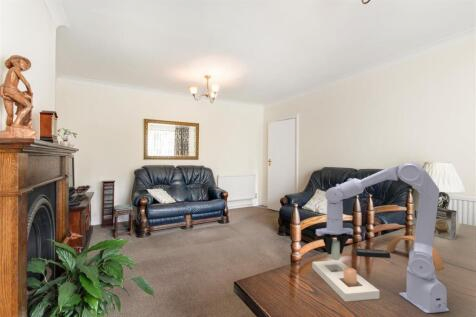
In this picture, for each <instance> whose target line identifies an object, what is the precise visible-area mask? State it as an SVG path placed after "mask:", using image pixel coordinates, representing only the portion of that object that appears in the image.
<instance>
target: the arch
mask: <svg viewBox="0 0 476 317" xmlns="http://www.w3.org/2000/svg"><path fill="white" fill-rule="evenodd" d="M403 240H405V241H409V242H412V243H414V240H415V235H405V236H404V235H403V236H400V237H399V236H398V237H396V238H394V239H392V240H391V241H389V243H388V244H387V247H386V251H387V252H388V253H390V254H391V253H394V252H396V248H397V245H398V243H399V242H400V241H403ZM432 257H433V264H434V267H435V272H437V271H440V270H442V269H444V268H445V266H444V261H443V259H442V256H441V255H440V253H439V252H438V250H437V249H436V248H435V246H433V248H432Z"/></svg>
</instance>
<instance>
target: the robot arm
mask: <svg viewBox="0 0 476 317" xmlns="http://www.w3.org/2000/svg"><path fill="white" fill-rule="evenodd" d="M399 179H400V180H401V182H402V181H403V182H404V183H405V184H408V185H410V186H411V187H413V188H414V189H415V190H416V192H418V193H419V197H418V198H419V200H418V209H417V216H416V225H415V232H414V236H415V240H414V242H413V245H412V246H413V247H412V248H411V249H410V250H409V253H408V262H407V265H408V266H407V267H406V292H399V293H398V294H399V295H400V296H401V297H402V298H403V299H405V300H407V301H408V303H411V304H412V305H413V306H415V307H416V308H418V309H420V310H421V311H422V312H424V313H425V314H433V313H434V314H435V313H443V312H449V311H450V310H449V308H448V305H447V304H448V302H447V301H448V296H447V295H448V292H447V291H448V290H447V288H446V285H444V284H443V283H442V282H441V281H439V280H438V278H437V274H436V270H435V267H434V264H433V257H432V248H433V247H434V245H433V244H434V237H435V236H434V231H435V223H436V215H437V208H439V207H438V206H439V199H440V198H439V197H440V188H439V187H438V185H437V184H436V182H435V181H434V180H433V179H432V177H431V175H430V174H429V173H428V171H427V170H426V169H424V167H422V166H420V165H419V164H418V163H417V162H405V163H403V164H398V165H394V166H392V167H387V168H384V169H382V170H380V171H378V172H376V173H373V174H371V175H368V176H367V177H364V178H362V179H359V178H355V177H354V178H353V177H352V178H351V177H350V178H347V181H345V182H342V183H340V184H339V183H336V184H335V186H333V187H330V188H328V189H327V190H326V191H325V194H324V196H325V199H326V227H324V228H323V227H322V228H317V229H315V235H316V236H318V237H321V238H322V241H323V244H324V246H325V247H324V248H325V250H326V253H327V255H328V256H329V255H330V254H331V248H332V241H333V239H334V238H333V237H332V235H333V236H334V235H335V237H336V238H335V239H336V240H339V241H340V255H342V254H343V252H344V249H345V245H346V244H347V242H348V240H349V239H350V237H349V235H354V229H353V228H351V227H344V226H343V222H344V220H343V219H344V206H343V200H344V199H349V198H352V197H355V196H357V195H361V194H362V193H363V192H364V190H365V189H366V188H367V187H370V186H373V185H376V184H378V183H381V182H385V181H387V180H388V181H398V180H399Z"/></svg>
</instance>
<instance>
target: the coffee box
mask: <svg viewBox="0 0 476 317" xmlns="http://www.w3.org/2000/svg"><path fill="white" fill-rule="evenodd" d="M457 212H458V211H457V210H454V209H448V208H442V207H437V215H436V223H435V231H434V237H438V238H442V239H444V240H445V239H446V240H450V241H451V240H452V241H453V240H455V239H457Z"/></svg>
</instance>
